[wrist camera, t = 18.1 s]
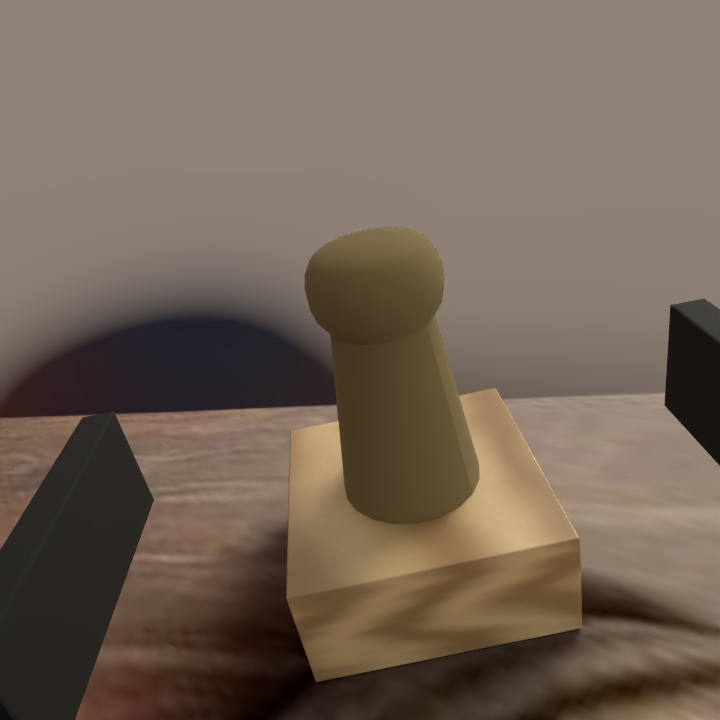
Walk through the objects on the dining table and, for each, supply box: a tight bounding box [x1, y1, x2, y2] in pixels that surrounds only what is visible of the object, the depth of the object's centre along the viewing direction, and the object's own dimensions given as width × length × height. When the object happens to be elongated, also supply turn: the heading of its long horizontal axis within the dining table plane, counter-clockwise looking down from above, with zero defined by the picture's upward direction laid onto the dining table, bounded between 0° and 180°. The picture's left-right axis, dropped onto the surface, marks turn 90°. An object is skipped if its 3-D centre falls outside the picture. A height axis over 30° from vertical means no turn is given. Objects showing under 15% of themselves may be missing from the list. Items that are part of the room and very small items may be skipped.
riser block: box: [286, 388, 582, 682], centre depth 29 cm, size 11×11×5 cm
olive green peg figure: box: [305, 227, 480, 524], centre depth 25 cm, size 6×6×11 cm
